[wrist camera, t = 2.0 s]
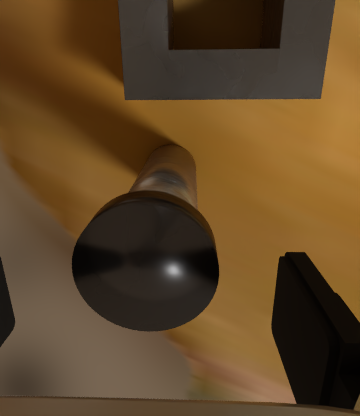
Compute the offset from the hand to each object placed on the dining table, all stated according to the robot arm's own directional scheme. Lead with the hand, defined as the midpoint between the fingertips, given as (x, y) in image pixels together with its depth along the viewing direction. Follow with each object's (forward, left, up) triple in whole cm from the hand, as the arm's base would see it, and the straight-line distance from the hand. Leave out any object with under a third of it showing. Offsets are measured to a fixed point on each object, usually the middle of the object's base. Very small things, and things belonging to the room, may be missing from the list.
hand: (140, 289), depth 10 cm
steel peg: (-1, 0, -13) cm, 13 cm away
